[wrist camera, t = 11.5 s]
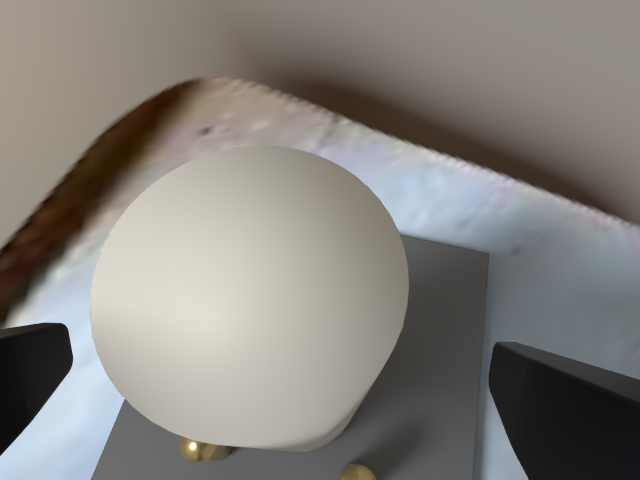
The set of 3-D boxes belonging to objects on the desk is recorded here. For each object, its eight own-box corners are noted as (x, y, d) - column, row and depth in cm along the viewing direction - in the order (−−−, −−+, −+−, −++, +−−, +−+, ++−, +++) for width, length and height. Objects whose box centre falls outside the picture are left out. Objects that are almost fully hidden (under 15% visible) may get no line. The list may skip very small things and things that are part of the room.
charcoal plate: (447, 693, 14) (486, 772, 11) (66, 568, 16) (-10, 600, 12) (482, 262, 21) (513, 222, 18) (214, 207, 23) (192, 160, 19)
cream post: (370, 432, 17) (463, 381, 5) (261, 467, 16) (99, 499, 5) (337, 326, 19) (350, 119, 7) (238, 355, 18) (82, 183, 7)
